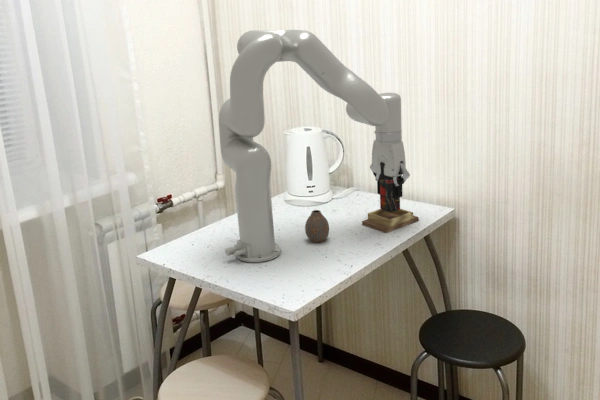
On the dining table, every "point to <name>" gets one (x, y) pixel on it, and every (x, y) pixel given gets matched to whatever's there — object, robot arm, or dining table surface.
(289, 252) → the dining table surface
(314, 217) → the vase
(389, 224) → the holder board
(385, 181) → the deodorant
